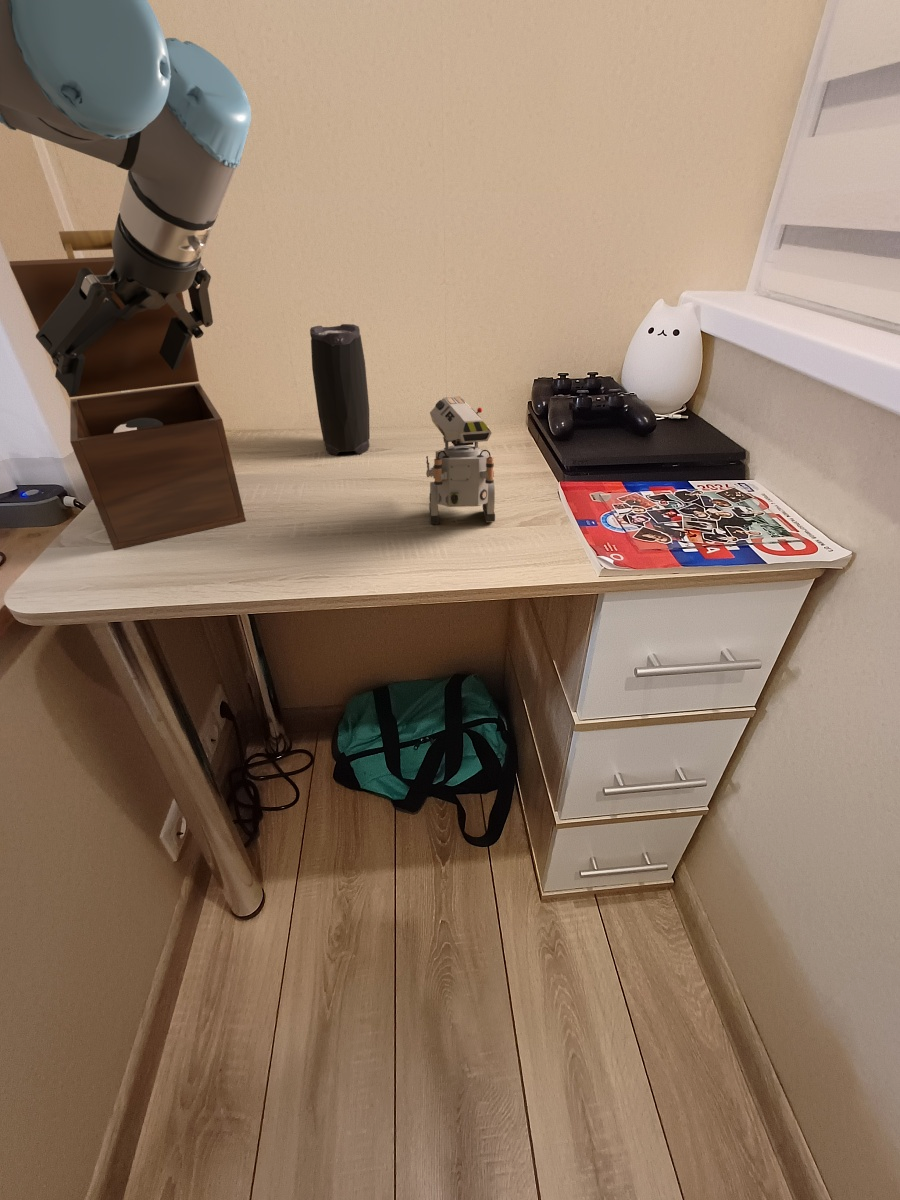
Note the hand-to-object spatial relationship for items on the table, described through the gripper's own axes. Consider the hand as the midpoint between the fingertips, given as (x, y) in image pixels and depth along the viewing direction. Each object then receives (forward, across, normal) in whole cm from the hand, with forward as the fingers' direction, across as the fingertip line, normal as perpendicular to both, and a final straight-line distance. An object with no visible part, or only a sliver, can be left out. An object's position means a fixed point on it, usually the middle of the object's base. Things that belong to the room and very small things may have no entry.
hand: (120, 372), depth 71 cm
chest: (+13, +1, -14) cm, 19 cm away
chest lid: (-1, +3, +5) cm, 6 cm away
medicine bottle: (+12, 0, -14) cm, 18 cm away
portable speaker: (+8, +32, -18) cm, 38 cm away
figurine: (-12, +22, -39) cm, 46 cm away
